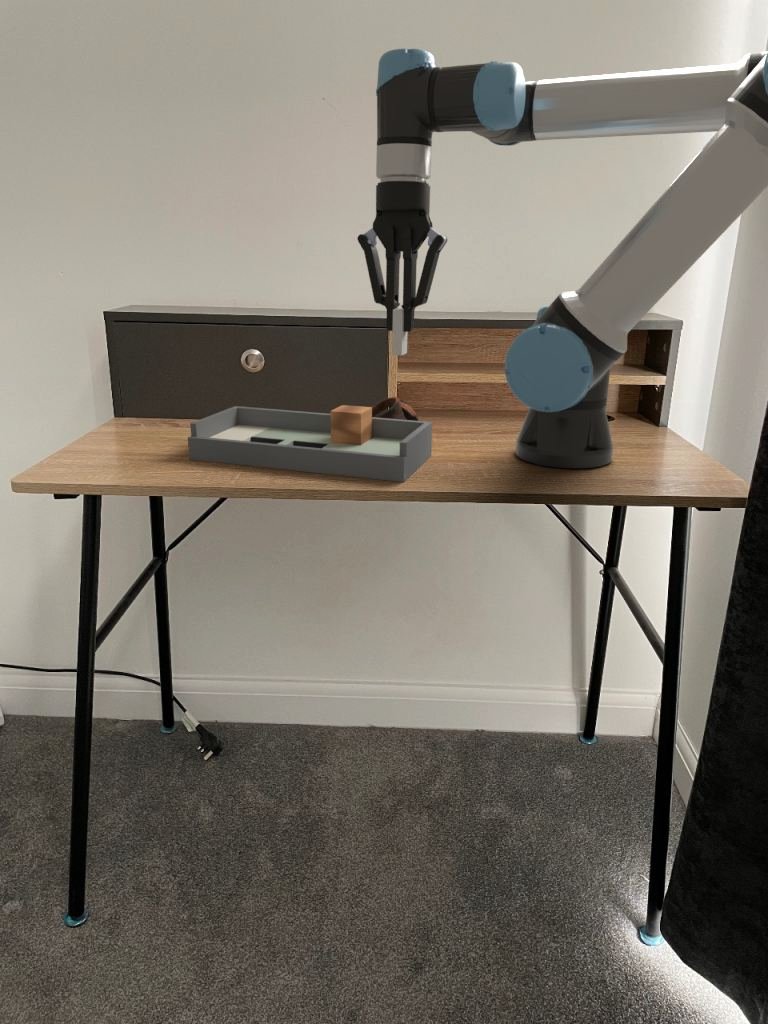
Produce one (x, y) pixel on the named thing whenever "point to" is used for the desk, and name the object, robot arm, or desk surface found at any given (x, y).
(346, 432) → the block
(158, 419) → the desk surface
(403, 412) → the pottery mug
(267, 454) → the box
